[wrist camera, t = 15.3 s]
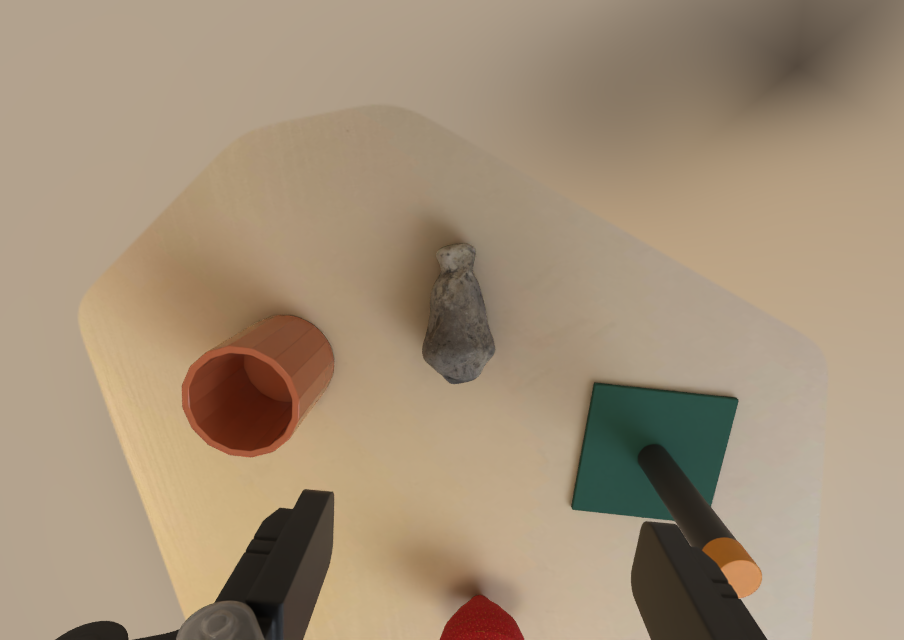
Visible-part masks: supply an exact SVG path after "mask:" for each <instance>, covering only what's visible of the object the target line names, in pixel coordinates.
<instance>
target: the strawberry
mask: <svg viewBox="0 0 904 640" xmlns="http://www.w3.org/2000/svg"><path fill="white" fill-rule="evenodd" d="M440 640H524V637H523V635H522V633H521V631H520V629H519V627H518V625H517V623H516V621H515V620H514V619H513V617H511V616H510V615H509V614H508V613H507V612H506V611H504V610H503V609H502V608H501V607H500V606H499V605H497V604H496V603H494V602H492V601H490V600H489V599H488V598H486V597H485V596H482V595H477V596H474V597H473V598H471V600H470V601H468V602H467V603H466V604H464V605H463V606H462V607H461V608H460V609H459V610H458V611H457V612H456V613H455V614H454V615H453V616H452V617H451V618H450V620H449V621H448V622H447V624H446V625H445V627H444V630H443V633H442V635H441V638H440Z"/></svg>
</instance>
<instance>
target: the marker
mask: <svg viewBox="0 0 904 640" xmlns="http://www.w3.org/2000/svg"><path fill="white" fill-rule="evenodd" d="M638 463H639V465H640V467H641V468H642V470H643V471H644V473H645V475H646V476H647V478H648V479H649V481H650V482H651V484H652V486H653V487H654V489H655V490H656V492H657V493H658V495H659V497H660V498H661V500H662V501H663V503H664V504H665V506H666V508H667V509H668V511H669V512H670V514H671V515H672V517H673V519H674V520H675V522H676V523H677V525H678V526H679V528H680V530H681V531H682V533H683V534H684V536H685V537H686V539H687V541H688V542H689V544H690V545H691V547H699V548H700V549H701V550H702V551H703V552H704V553H706V554H707V555H708V556H709V557H710V558H711V559H712V560H714V561H715V562H716V563H717V564H718V566H719V567H720V569H721V570H722V572H723V573H724V575H725V576H726V578H727V579H728V583H729V584H731V585H732V587H733V589H734V590H735V592H736V593H737V595H738V598H743V597H746V596H749V595H751V594H752V593H754V592H755V591H756V590H757V589H758V588H759V586H760V584H761V581H762V573H761V570H760V568H759V567H758V566H757V564H756V563H755V562H754V560H753V559H752V558H751V557H750V555H749V554H748V553H747V552H746V550H745V549H744V548H743V546H742V545H741V544H740V543H739V542H738V541H737V540H736V539H735V537H734V536H733V535H732V534H731V532H730V531H729V530H728V529H727V527H726V526H725V525H724V523H723V522H722V521H721V520H720V518H719V517H718V516H717V514H716V513H715V512H714V511H713V509H712V508H711V507H710V505H709V504H708V503H707V502H706V500H705V499H704V498H703V496H702V495H701V494H700V493H699V491H698V490H697V489H696V487H695V486H694V485H693V484H692V482H691V481H690V480H689V478H688V477H687V476H686V475H685V473H684V472H683V471H682V469H681V468H680V467H679V466H678V464H677V463H676V462H675V460H674V459H673V458H672V457H671V455H670V454H669V453H668V452H667V450H666V449H665V448H664V447H662V446H661V445H657V444H651V445H648V446H646V447H644V448H643V449H642V450H641V451H640V452H639V455H638Z"/></svg>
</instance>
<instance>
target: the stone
mask: <svg viewBox="0 0 904 640" xmlns="http://www.w3.org/2000/svg"><path fill="white" fill-rule="evenodd" d="M475 255H476V251H475V248H474V247H473V246H472V245H470V244H467V243H462V244H455V245H449V246H445V247H443V248H441V249H439V250H438V252H437V254H436V258H437V260H438V262H439V265H440V267H441V273H440V275H439V277H438V279H437V280H436V282H435V284H434V286H433V288H432V293H431V300H430V317H429V324H428V329H427V332H426V337H425V340H424V343H423V348H422V353H423V358H424V360H425V361H426V362H427V363H428V364H429V365H430V366H431V367H432V368H434V369H435V370H436V371H437V372H438V373H439V374H441V375H442V376H443V377H444V378H445V379H446V380H447V381H448V382H449V383H451V384H459V383H464V382H469V381H472V380H474V379H476V378H477V377H478V376H479V375H480V374H481V371H482V369H483V368H484V366H485V364H486V363H487V362H488V361H489V359H490V358H491V357H492V356H493V355H494V352H495V345H494V340H493V337H492V334H491V332H490V329H489V326H488V322H487V316H486V309H485V304H484V300H483V297H482V293H481V289H480V286H479V283H478V281H477V279H476V277H475V276H474V273H473V264H474V260H475Z"/></svg>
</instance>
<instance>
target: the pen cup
mask: <svg viewBox="0 0 904 640" xmlns="http://www.w3.org/2000/svg"><path fill="white" fill-rule="evenodd" d="M333 371H334V357H333V352H332V349H331V347H330V344H329V342H328V341H327V339H326V337H325V336H324V335H323V334H322V332H321V331H320V330H319V329H318V328H316V327H315V326H314V325H313V324H311V323H309V322H308V321H306V320H303V319H301V318H298V317H295V316H289V315H277V316H272V317H269V318H266V319H264V320H261V321H258V322H256V323H255V324H253V325H251V326H250V327H248V328H246V329H245V330H243V331H241V332H240V333H238V334H236V335H235V336H233V337H231V338H229V339H228V340H226V341H224V342H223V343H221V344H219V345H218V346H216V347H214V348H213V349H211V350H209V351H208V352H206V353H205V354H204V355H202V356H201V357H200V358H199V359H198V360H197V361H196V362H194V363H193V364H192V365H191V366H190V368H189V370H188V372H187V375H186V377H185V379H184V382H183V384H182V407H183V410H184V412H185V414H186V417H187V419H188V421H189V423H190V425H191V427H192V429H193V430H194V431H195V432H196V433H197V434H198V435H199V436H200V437H201V438H202V439H203V440H204V441H205V442H206V443H207V444H209V445H210V446H212V447H214V448H216V449H218V450H220V451H222V452H224V453H226V454H228V455H234V456H243V457H255V456H259V455H263V454H267V453H271V452H273V451H275V450H276V449H277V448H279V447H280V446H281V445H283V444H284V443H285V442H286V441H288V440H289V439H290V438H291V436H292V435H293V434H294V432H295V431H296V430H297V428H298V427H299V425H300V424H301V423H302V421H303V420H304V419H305V417H306V416H307V415H308V413H309V412H310V411H311V409H312V408H313V407H314V405H315V404H316V402H317V401H318V400H319V398H320V397H321V396H322V394H323V393H324V392H325V390H326V388H327V386H328V384H329V383H330V381H331V378H332V375H333Z"/></svg>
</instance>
